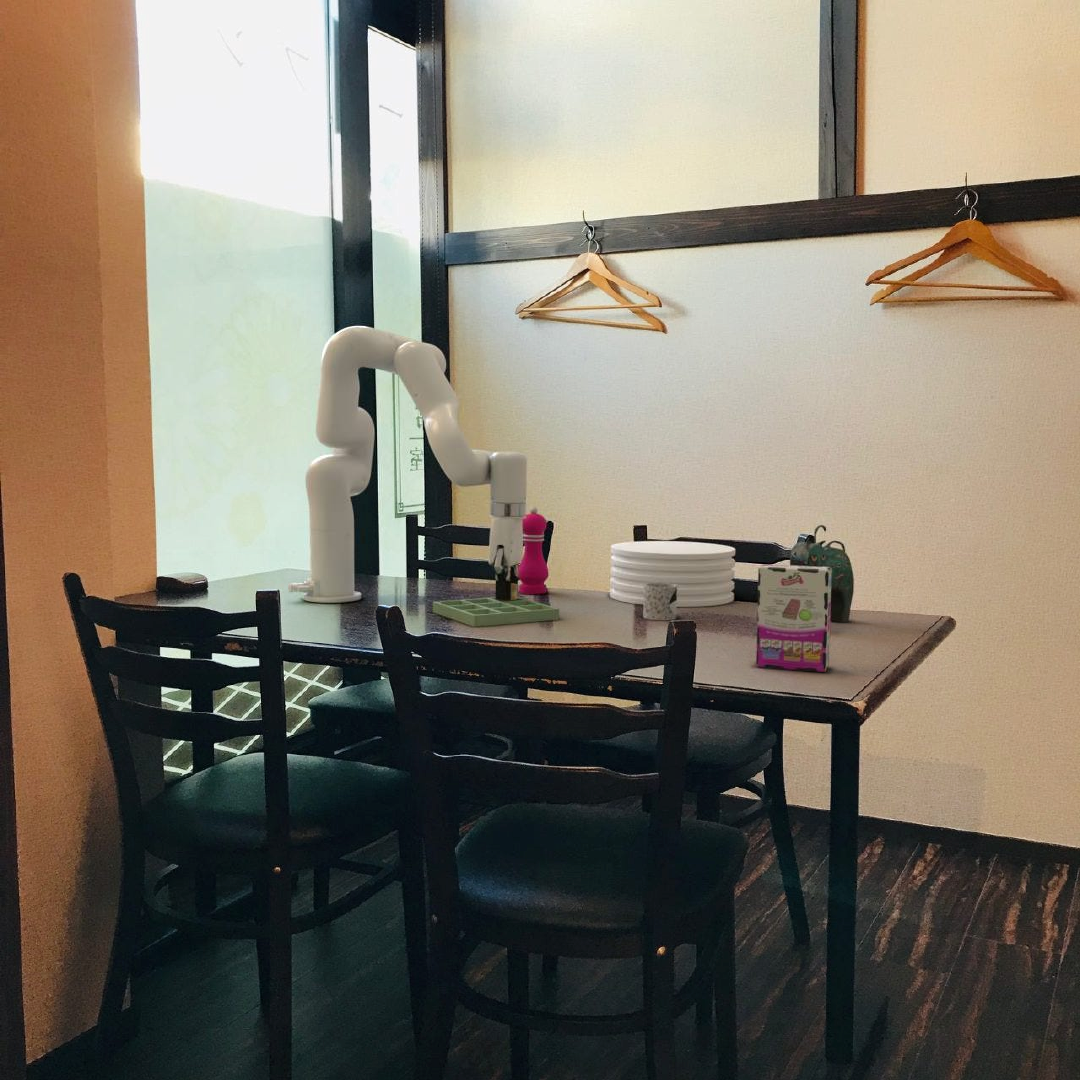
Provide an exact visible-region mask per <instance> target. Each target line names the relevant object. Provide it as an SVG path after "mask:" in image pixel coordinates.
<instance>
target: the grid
mask: <svg viewBox="0 0 1080 1080" xmlns="http://www.w3.org/2000/svg"><path fill="white" fill-rule="evenodd" d="M432 613H433V614H437V615H440V616H442V617H446V618H448V619H451V620H454V621H456V622H460V623H463V624H465V625H469V626H470V627H473V628H476V627H477V628H478V627H489V626H500V625H512V624H523V623H524V624H525V623H536V622H547V621H558V620H560V608H559V607H555V606H551V605H548V604H544V603H541V602H537V601H535V600H534V601H533V600H530V599H526V598H523V597H519V596H517V599H516V600H497V599H496V598H495V596H493V597H479V598H467V599H466V598H465V599H464V598H463V599H451V600H439V601H437V600H436V601H432Z"/></svg>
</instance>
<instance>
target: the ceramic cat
mask: <svg viewBox="0 0 1080 1080" xmlns="http://www.w3.org/2000/svg"><path fill="white" fill-rule="evenodd" d="M820 528H822V529H823V531H824V532H827V526H826V525H823V524H819V525H817V526H816V527H815V529H814V533H813V542H814V543H813V542H811V538H810V537H808V538H807V539H806V541H798V542H797V543H796V544H794V545H793V546H792V549H791V552H790V557H789V565H791V566H815V567H831V568H832V575H831V611H830V622H835V623H847V622H849V621H850V615H851V608H852V603H853V597H854V590H855V589H854V588H855V579H854V572H853V567H852V562H851V560H850V557H849V555H848V554H847V552H846V547H845V544H844V543H843V542H841V541H839V540H831V541H830V542H828V543H826V540H821V541H819V542H817V533H818V531H819V529H820ZM825 543H826V544H825ZM834 543H835V544H838V545H840V546H841V548H838V547H832V546H831V545H832V544H834ZM824 544H825V545H824ZM823 545H824V546H823Z"/></svg>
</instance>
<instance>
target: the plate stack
mask: <svg viewBox="0 0 1080 1080" xmlns="http://www.w3.org/2000/svg"><path fill="white" fill-rule="evenodd" d="M610 552H611V553H612V554H613V555H611V556H610V564H611V565H613V566H611V567H610V572H609V573H610V576H611V578H610V580H609V585H610V587H612V588H610V590H609V597H610V598H611V599H613V600H616V601H619V602H623V603H628V604H634V605H642V606H644V584H647V583H670V584H675V585H677V604H676V608H695V607H712V606H713V607H715V606H720V605H721V606H722V605H727V604H730V603H732V602H733V601H734V600H735V593H734V592H733V590H734V589H735V581H733V579H734V578H735V577H736V576H735V573H736V572H735V570H734V569H733V568H734V567H735V566H736V560H735V559H734V558H732V557H734V556H736V548H735V547H733V546H730V545H724V544H719V543H709V542H698V541H674V540H643V541H641V540H639V541H625V542H618V543H614V544H611V545H610ZM612 576H613V577H612Z"/></svg>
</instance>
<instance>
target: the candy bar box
mask: <svg viewBox="0 0 1080 1080" xmlns="http://www.w3.org/2000/svg"><path fill="white" fill-rule="evenodd" d="M757 572H758V573H757V611H756V614H757V615H756V616H757V618H756V620H757V621H756V655H755V657H756V658H755V666H756V667H758V668H766V669H777V670H792V671H805V672H817V673H825V672H826V671H827V670H828V668H829V667H830V648H831V647H830V645H831V621H830V611H831V575H832V568H831V567H815V566H791V565H790V564H789V565H788V564H787V565H785V564H762V565H760V566H759V567H758V570H757Z"/></svg>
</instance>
